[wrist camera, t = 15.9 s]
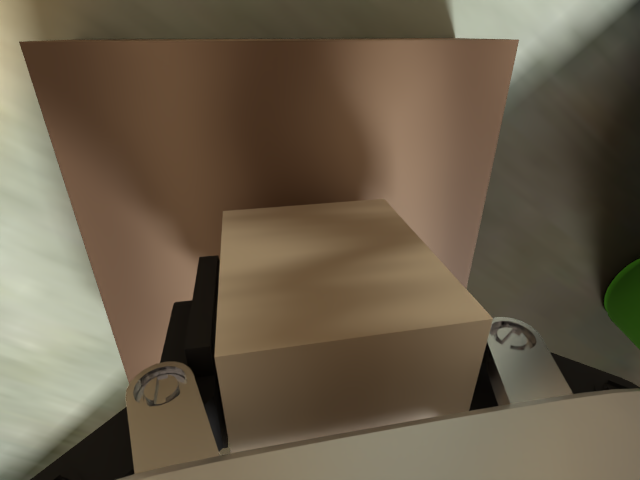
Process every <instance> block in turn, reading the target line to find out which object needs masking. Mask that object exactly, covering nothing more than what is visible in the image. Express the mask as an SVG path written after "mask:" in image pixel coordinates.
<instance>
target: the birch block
mask: <svg viewBox="0 0 640 480" xmlns="http://www.w3.org/2000/svg"><path fill="white" fill-rule="evenodd" d="M492 321H493V318H492V317H491V316H490V315H489V314H488V313H487V312H486V310H485V309H484V308H483V307H482V306H481V305H480V304H479V303H478V302H477V301H476V299H475V298H474V297H473V296H472V295H471V294H470V293H469V292H468V291H467V290H466V288H465V287H464V286H463V285H462V284H461V283H460V282H459V281H458V280H457V279H456V277H455V276H454V275H453V274H452V273H451V272H450V271H449V270H448V269H447V267H446V266H445V265H444V264H443V263H442V262H441V261H440V260H439V259H438V258H437V256H436V255H435V254H434V253H433V252H432V251H431V250H430V249H429V248H428V247H427V245H426V244H425V243H424V242H423V241H422V240H421V239H420V238H419V237H418V236H417V234H416V233H415V232H414V231H413V230H412V229H411V228H410V227H409V226H408V224H407V223H406V222H405V221H404V220H403V219H402V218H401V217H400V216H399V215H398V213H397V212H396V211H395V210H394V209H393V208H392V207H391V206H390V205H389V204H388V202H387V201H386V200H385V199H375V200H362V201H348V202H335V203H322V204H309V205H296V206H283V207H270V208H257V209H244V210H231V211H223V218H222V235H221V253H220V270H219V287H218V304H217V321H216V338H215V355H214V358H215V364H216V369H217V375H218V381H219V387H220V393H221V399H222V404H223V410H224V416H225V422H226V428H227V434H228V439H229V445H230V451H231V453H235V452H240V451H246V450H251V449H257V448H262V447H268V446H273V445H279V444H285V443H290V442H296V441H301V440H307V439H312V438H318V437H323V436H329V435H334V434H340V433H345V432H351V431H357V430H363V429H368V428H374V427H380V426H385V425H391V424H397V423H402V422H408V421H414V420H420V419H425V418H431V417H437V416H443V415H448V414H454V413H460V412H466V411H469V409H470V405H471V401H472V397H473V393H474V390H475V386H476V382H477V378H478V374H479V371H480V367H481V363H482V359H483V355H484V351H485V348H486V344H487V340H488V336H489V332H490V329H491V325H492Z"/></svg>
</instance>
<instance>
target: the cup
mask: <svg viewBox="0 0 640 480" xmlns="http://www.w3.org/2000/svg"><path fill="white" fill-rule="evenodd" d="M604 306H605V309H606V311H607V312H608V316H609V317H610V319H611V320H612V321H613V322H614V323H615V324H616V325H617V326H618V327H619V329H620V330H621V331H622V332H623V333H624V334H625V335H626V336H627V337H628V338H629V339H630V340H631V341H632V342H633V343H634V344H635V345H636V346H637V347H638V348H639V349H640V258H639V259H637V260H635V261H634V262H632V263H631V264H629V265H628V266H626V267H625V268H624V269H623V270H622V271H621V272H620V273H619V274H618V275H617V276H616V277H615V278H614V279H613V281H612V282H611V284H610V285H609V287H608V289H607V291H606V294H605V298H604Z"/></svg>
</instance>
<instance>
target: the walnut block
mask: <svg viewBox="0 0 640 480" xmlns="http://www.w3.org/2000/svg"><path fill="white" fill-rule="evenodd" d="M518 42H519V40H509V39H465V38H398V39H109V40H53V41H28V42H19V43H20V46H21V49H22V52H23V55H24V58H25V61H26V64H27V67H28V71H29V74H30V77H31V80H32V83H33V86H34V89H35V92H36V95H37V98H38V102H39V105H40V108H41V111H42V114H43V117H44V120H45V123H46V126H47V130H48V133H49V136H50V139H51V142H52V145H53V148H54V151H55V154H56V158H57V161H58V164H59V167H60V170H61V173H62V176H63V179H64V182H65V186H66V189H67V192H68V195H69V198H70V201H71V204H72V207H73V210H74V214H75V217H76V220H77V223H78V226H79V229H80V232H81V235H82V238H83V241H84V245H85V248H86V251H87V254H88V257H89V260H90V263H91V266H92V269H93V273H94V276H95V279H96V282H97V285H98V288H99V291H100V294H101V297H102V301H103V304H104V307H105V310H106V313H107V316H108V319H109V322H110V325H111V329H112V332H113V335H114V338H115V341H116V344H117V347H118V350H119V353H120V356H121V360H122V363H123V366H124V369H125V372H126V375H127V378H128V381H129V384H130V382H131V381H132V380H133V379H134V377H135V376H136V375H137V374H139V373H140V372H141V371H143V370H144V369H146V368H148V367H150V366H152V365H155V364H158V363H160V360H161V356H162V352H163V347H164V343H165V338H166V334H167V330H168V325H169V321H170V317H171V312H172V308H173V305H174V303H175V302H180V301H189V300H192V299H193V292H194V286H195V280H196V274H197V268H198V261H199V257H204V256H215V255H218V256H219V260H220V253H221V235H222V218H223V211H231V210H244V209H257V208H270V207H283V206H296V205H309V204H322V203H335V202H348V201H362V200H375V199H385V200H386V201H387V202H388V204H389V205H390V206H391V207H392V208H393V209H394V210H395V211H396V212H397V213H398V215H399V216H400V217H401V218H402V219H403V220H404V221H405V222H406V223H407V224H408V226H409V227H410V228H411V229H412V230H413V231H414V232H415V233H416V234H417V236H418V237H419V238H420V239H421V240H422V241H423V242H424V243H425V244H426V245H427V247H428V248H429V249H430V250H431V251H432V252H433V253H434V254H435V255H436V256H437V258H438V259H439V260H440V261H441V262H442V263H443V264H444V265H445V266H446V267H447V269H448V270H449V271H450V272H451V273H452V274H453V275H454V276H455V277H456V279H457V280H458V281H459V282H460V283H461V284H462V285H463V286H464V287H465V288H467V284H468V279H469V274H470V269H471V265H472V260H473V255H474V251H475V246H476V241H477V236H478V232H479V227H480V222H481V217H482V213H483V208H484V203H485V198H486V194H487V189H488V184H489V179H490V175H491V170H492V165H493V160H494V156H495V151H496V146H497V141H498V137H499V132H500V127H501V123H502V118H503V113H504V108H505V104H506V99H507V94H508V89H509V85H510V80H511V75H512V70H513V66H514V61H515V56H516V51H517V47H518Z"/></svg>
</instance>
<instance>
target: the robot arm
mask: <svg viewBox="0 0 640 480" xmlns="http://www.w3.org/2000/svg"><path fill="white" fill-rule="evenodd" d="M219 270H220V260H219V256H218V255H215V256H204V257H199V261H198V268H197V274H196V280H195V286H194V292H193V299H192V300H189V301H180V302H175V303H174V305H173V308H172V312H171V317H170V321H169V325H168V330H167V334H166V338H165V343H164V347H163V352H162V356H161V360H160V363H158V364H155V365H152V366H150V367H148V368H146V369H144V370H143V371H141V372H140V373H139V374H137V375H136V376H135V377H134V379H133V380H132V381H131V382H130V384H129V386H128V388H127V390H126V406H127V407H126V408H124V409H123V410H122V411H120V412H119V413H118V414H116V415H115V416H114V417H112V418H111V419H110V420H108V421H107V422H106V423H104V424H103V425H102V426H101V427H99V428H98V429H97V430H95V431H94V432H93V433H91V434H90V435H89V436H87V437H86V438H85V439H83V440H82V441H81V442H79V443H78V444H77V445H75V446H74V447H73V448H71V449H70V450H69V451H68V452H66V453H65V454H64V455H62V456H61V457H60V458H58V459H57V460H56V461H54V462H53V463H52V464H50V465H49V466H48V467H46V468H45V469H44V470H42V471H41V472H40V473H38V474H37V475H36V476H35V477H33V478H32V479H31V480H640V387H638V386H637V385H635V384H633V383H632V382H629V381H627V380H625V379H623V378H620V377H617V376H615V375H612V374H609V373H606V372H604V371H601V370H598V369H595V368H593V367H590V366H587V365H584V364H581V363H579V362H576V361H573V360H570V359H568V358H565V357H562V356H559V355H557V354H554V353H551V352H550V351H549V350H548V348H547V346H546V344H545V343H544V341H543V339H542V337H541V336H540V335H539V333H538V332H537V331H536V330H535V329H533V328H532V327H531V326H529V325H527V324H525V323H524V322H522V321H519V320H516V319H512V318H506V317H496V318H493V321H492V325H491V329H490V332H489V336H488V340H487V344H486V348H485V351H484V355H483V359H482V363H481V367H480V371H479V374H478V378H477V382H476V386H475V390H474V393H473V397H472V401H471V405H470V409H469V411H466V412H460V413H454V414H448V415H443V416H437V417H431V418H425V419H420V420H414V421H408V422H402V423H397V424H391V425H385V426H380V427H374V428H368V429H363V430H357V431H351V432H345V433H340V434H334V435H329V436H323V437H318V438H312V439H307V440H301V441H296V442H290V443H285V444H279V445H273V446H268V447H262V448H257V449H251V450H246V451H240V452H235V453H230V454H225V455H220V454H219V451H220V450H221V449H222V448H227V447H228V434H227V428H226V422H225V416H224V410H223V404H222V399H221V393H220V387H219V381H218V375H217V369H216V364H215V358H214V355H215V338H216V321H217V304H218V287H219Z"/></svg>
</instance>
